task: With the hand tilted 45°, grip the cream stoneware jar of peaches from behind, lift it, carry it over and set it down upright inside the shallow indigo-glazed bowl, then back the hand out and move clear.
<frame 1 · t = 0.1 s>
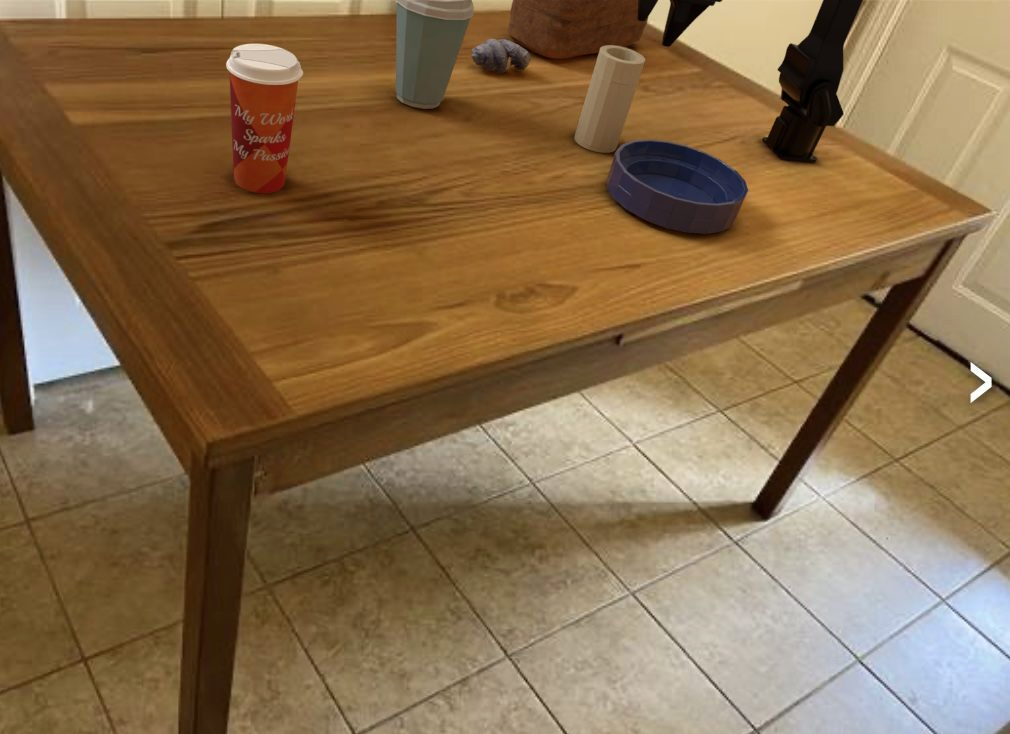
hand: (652, 33, 118), 15 cm above the table, tool pointing down, fingers open, 9 cm apart
grey croissant: (496, 72, 138), on the table
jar: (595, 142, 124), on the table
bowl: (669, 202, 114), on the table
paper cup: (259, 182, 99), on the table
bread: (572, 44, 154), on the table
disposable coffee cup: (418, 100, 124), on the table
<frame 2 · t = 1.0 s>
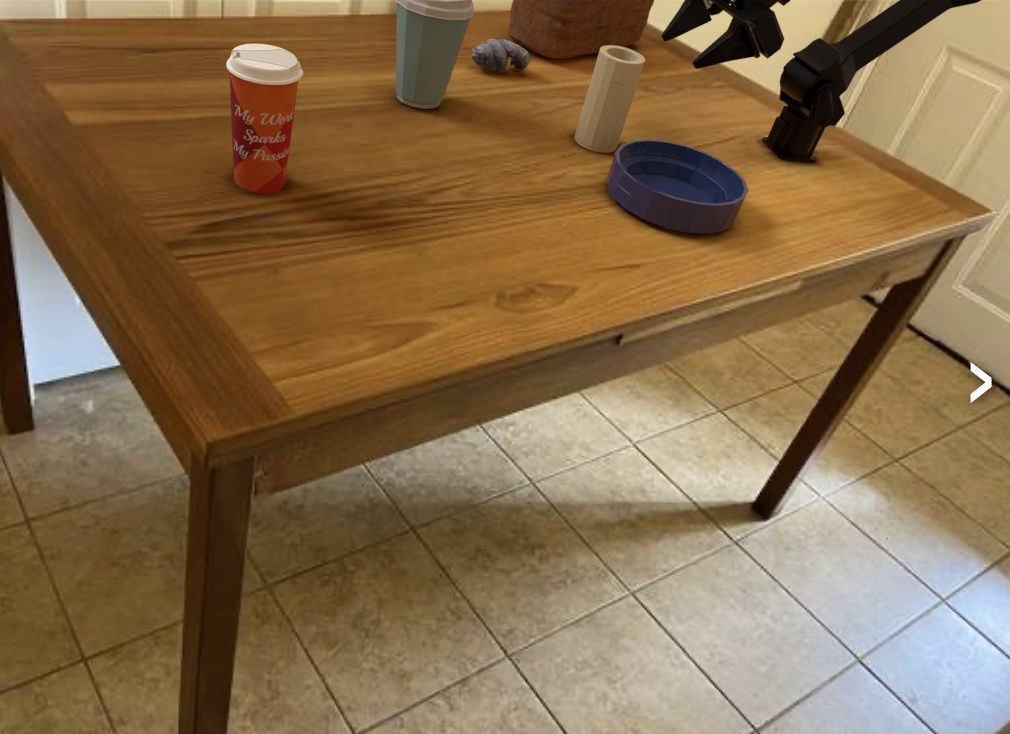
hand: (678, 51, 118), 13 cm above the table, tool tilted 45°, fingers open, 9 cm apart
nothing on the table moved.
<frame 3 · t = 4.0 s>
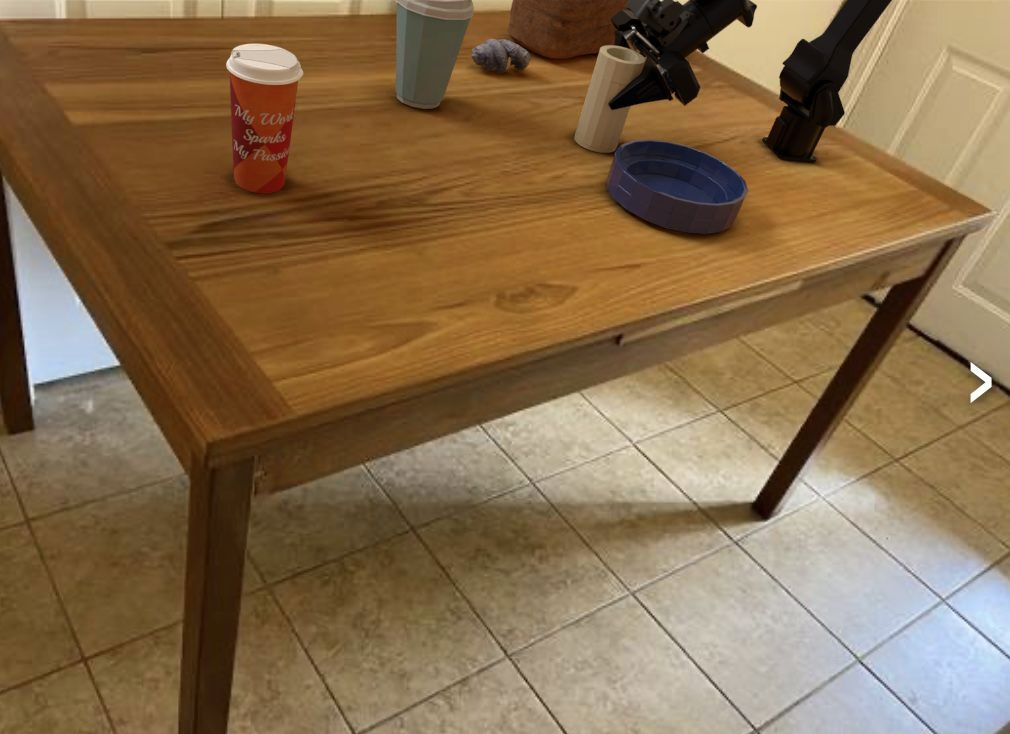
hand: (600, 96, 119), 7 cm above the table, tool tilted 45°, fingers closed on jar, 6 cm apart
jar: (595, 142, 124), on the table, touching gripper
everything else where it was.
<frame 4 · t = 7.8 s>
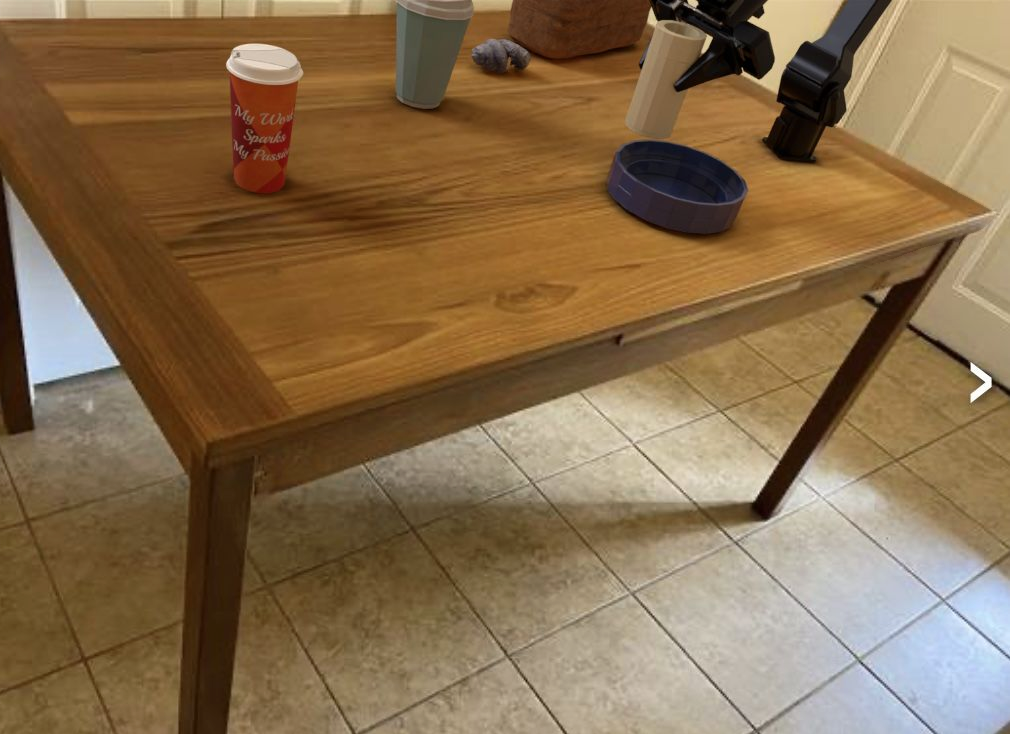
hand: (657, 78, 108), 13 cm above the table, tool tilted 45°, fingers closed on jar, 6 cm apart
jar: (647, 128, 113), point 7 cm above the table, touching gripper
everything else where it was.
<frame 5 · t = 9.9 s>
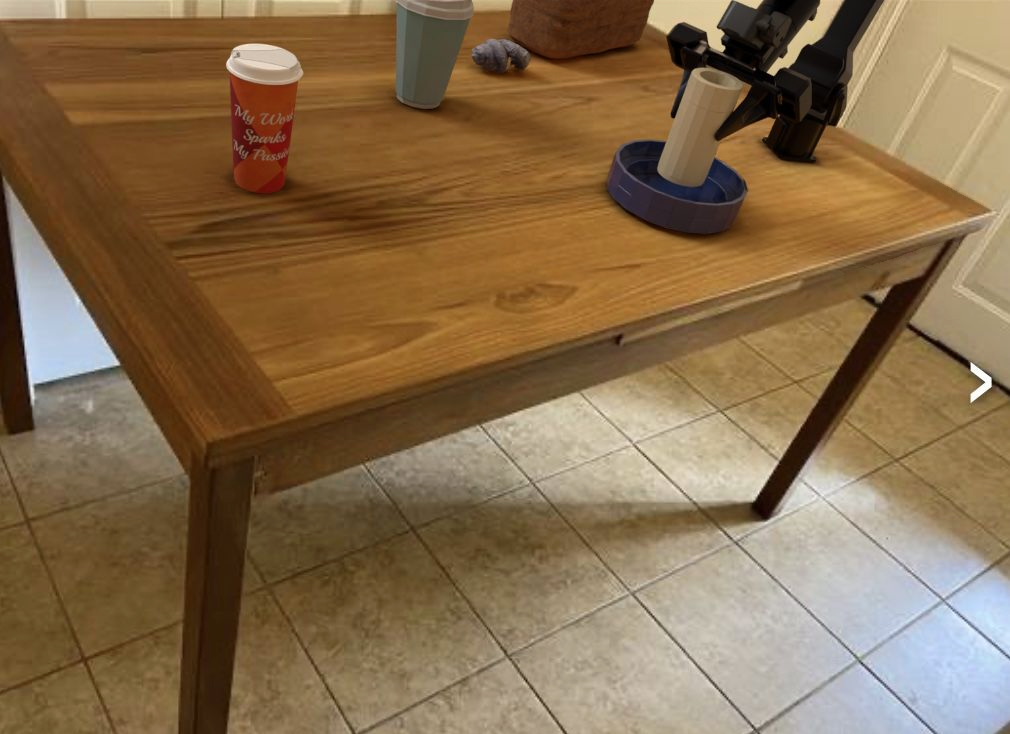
hand: (693, 127, 106), 10 cm above the table, tool tilted 45°, fingers closed on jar, 6 cm apart
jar: (680, 175, 111), point 4 cm above the table, touching gripper
everything else where it was.
when the fingers open (7 cm above the table, at t = 11.4 s): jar stays where it is, resting on bowl.
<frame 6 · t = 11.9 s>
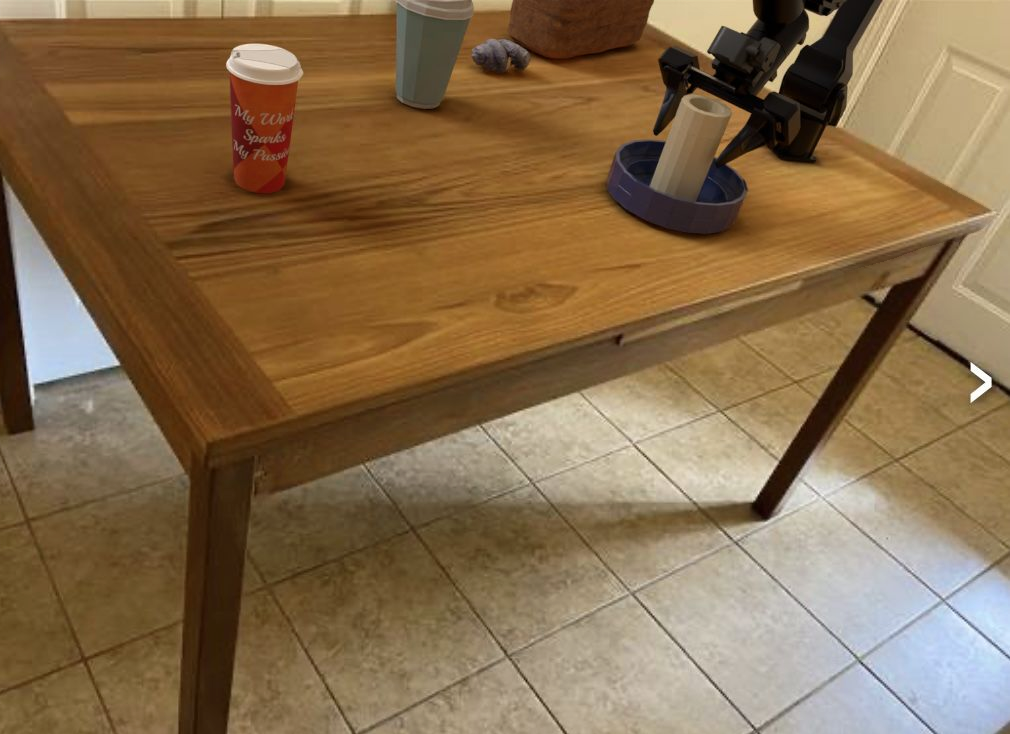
hand: (684, 149, 108), 8 cm above the table, tool tilted 45°, fingers open, 9 cm apart
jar: (671, 198, 113), point 1 cm above the table, touching bowl
everything else where it was.
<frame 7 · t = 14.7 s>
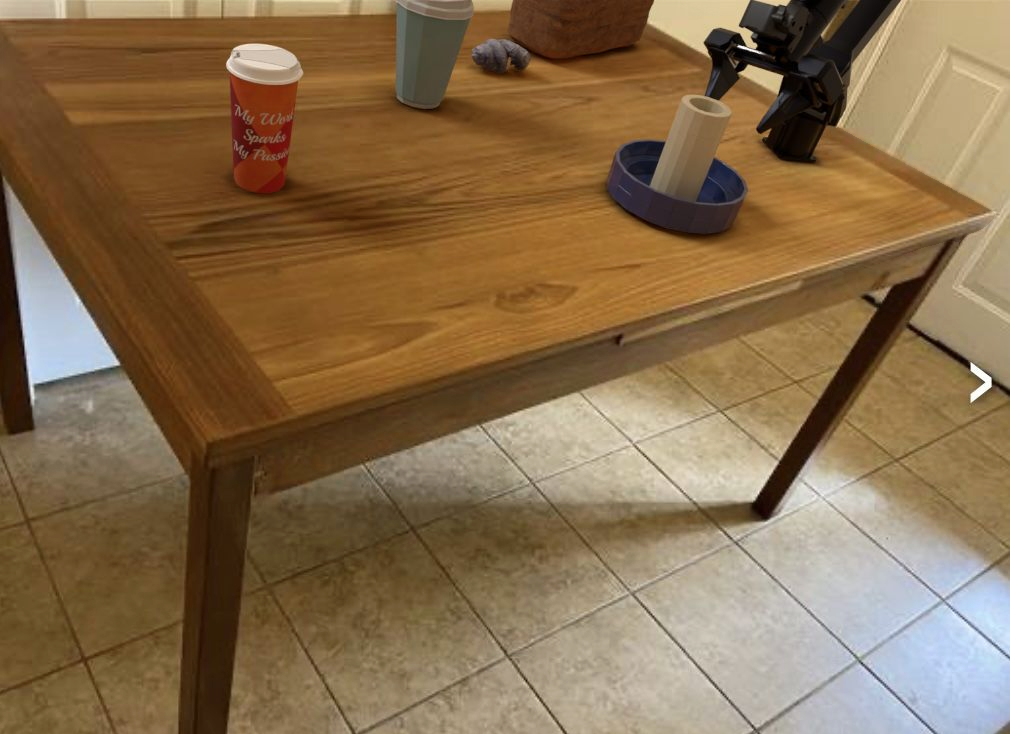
hand: (729, 121, 113), 9 cm above the table, tool tilted 40°, fingers open, 9 cm apart
nothing on the table moved.
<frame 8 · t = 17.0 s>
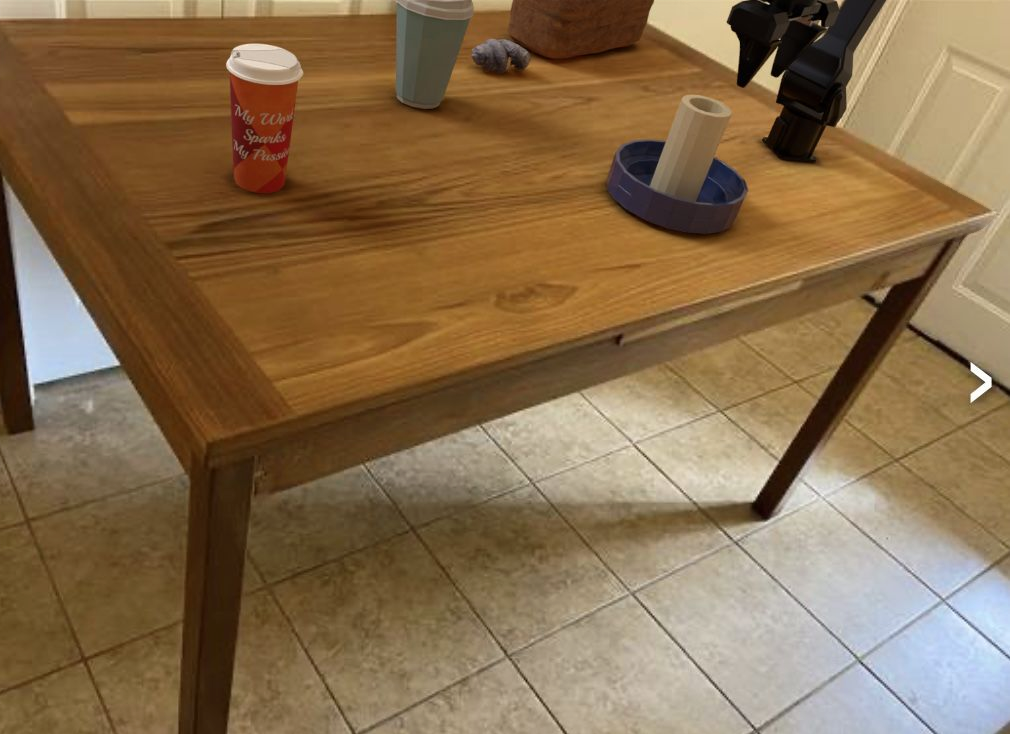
hand: (757, 81, 115), 13 cm above the table, tool pointing down, fingers open, 9 cm apart
nothing on the table moved.
at the end: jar 0.0 cm off-centre in the bowl, point 0.6 cm above the bowl's base; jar tilted 0°; the gripper is holding nothing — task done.
